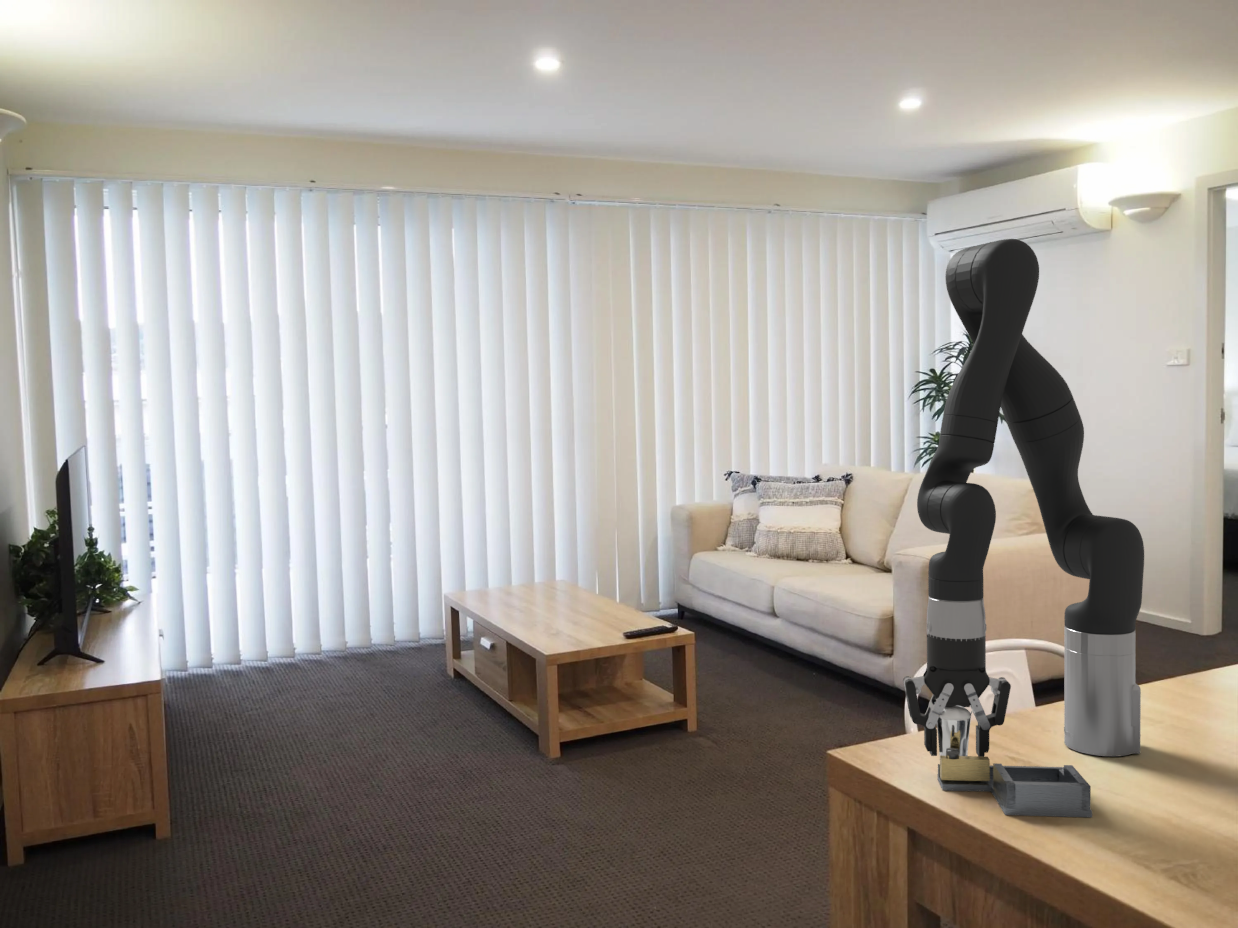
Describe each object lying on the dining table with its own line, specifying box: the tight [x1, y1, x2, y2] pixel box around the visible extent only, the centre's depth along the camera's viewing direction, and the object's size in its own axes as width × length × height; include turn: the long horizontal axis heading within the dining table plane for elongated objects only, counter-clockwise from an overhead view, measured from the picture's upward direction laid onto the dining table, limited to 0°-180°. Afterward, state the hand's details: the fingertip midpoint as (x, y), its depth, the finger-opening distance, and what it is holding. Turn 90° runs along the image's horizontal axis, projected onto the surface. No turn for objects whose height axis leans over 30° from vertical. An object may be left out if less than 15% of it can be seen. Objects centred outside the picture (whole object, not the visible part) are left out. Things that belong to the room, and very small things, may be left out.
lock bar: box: [939, 748, 991, 781], centre depth 135 cm, size 6×2×4 cm, turn 82°
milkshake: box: [936, 706, 973, 757], centre depth 140 cm, size 4×5×10 cm
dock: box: [937, 763, 1093, 818], centre depth 131 cm, size 16×12×4 cm
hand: (956, 753), depth 140 cm, fingers open, 5 cm apart
